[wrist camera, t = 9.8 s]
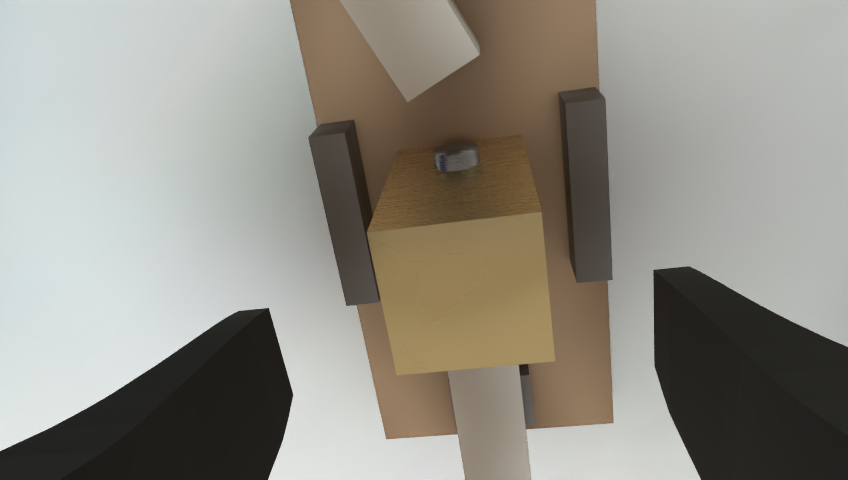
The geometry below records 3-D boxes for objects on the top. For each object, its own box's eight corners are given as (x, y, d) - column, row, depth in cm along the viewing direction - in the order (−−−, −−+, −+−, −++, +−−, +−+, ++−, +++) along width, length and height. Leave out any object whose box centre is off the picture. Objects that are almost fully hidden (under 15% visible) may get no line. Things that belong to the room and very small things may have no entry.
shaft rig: (578, -175, 17) (611, -216, 12) (605, 395, 24) (632, 489, 20) (278, -120, 18) (219, -140, 14) (391, 412, 25) (374, 503, 21)
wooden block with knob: (520, 120, 18) (540, 193, 13) (534, 259, 20) (556, 376, 15) (395, 137, 19) (363, 215, 13) (419, 272, 20) (399, 389, 15)
